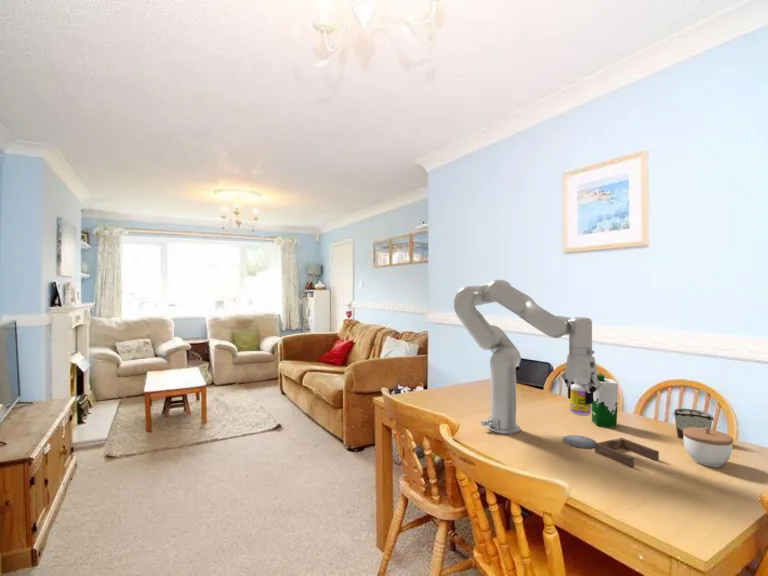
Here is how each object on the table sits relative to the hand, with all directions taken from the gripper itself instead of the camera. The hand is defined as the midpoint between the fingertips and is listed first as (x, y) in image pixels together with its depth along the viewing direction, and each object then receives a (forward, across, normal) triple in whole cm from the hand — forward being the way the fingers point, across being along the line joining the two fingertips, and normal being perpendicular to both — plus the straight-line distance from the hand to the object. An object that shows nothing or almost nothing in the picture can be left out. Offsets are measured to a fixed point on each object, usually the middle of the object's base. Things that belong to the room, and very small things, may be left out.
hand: (580, 400), depth 145 cm
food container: (+16, -13, -43) cm, 47 cm away
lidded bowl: (+16, -28, -24) cm, 40 cm away
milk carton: (+15, +10, -26) cm, 32 cm away
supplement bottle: (+5, 0, 0) cm, 5 cm away
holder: (+15, -15, -4) cm, 22 cm away
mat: (+15, 0, 0) cm, 15 cm away
